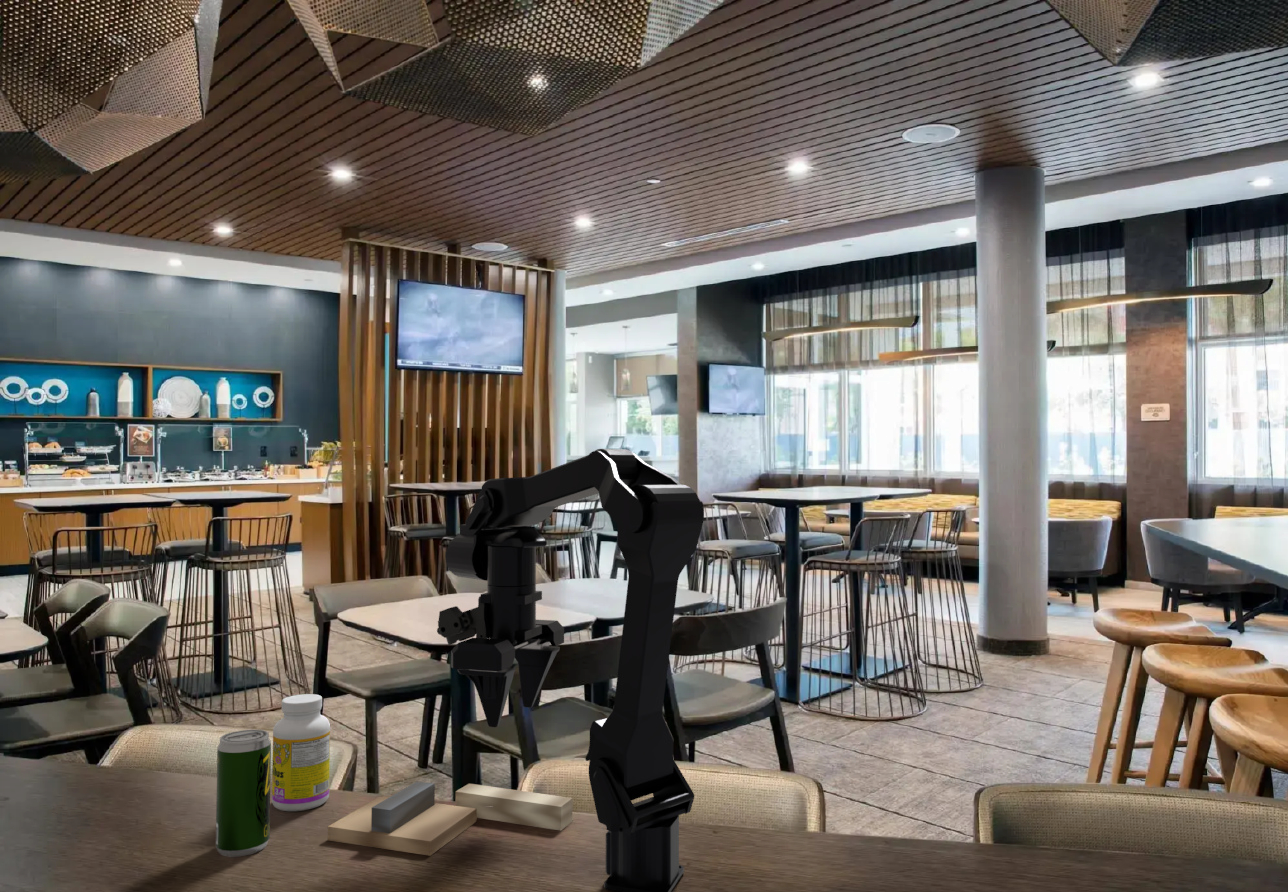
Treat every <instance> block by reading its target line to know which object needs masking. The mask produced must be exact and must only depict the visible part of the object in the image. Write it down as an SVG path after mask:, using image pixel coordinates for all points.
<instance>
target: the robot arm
mask: <svg viewBox="0 0 1288 892" xmlns="http://www.w3.org/2000/svg"><path fill="white" fill-rule="evenodd" d="M595 495H599V500H600V505H601V508H602V509H603V510H604V511H605V512H606V513H607V514H608V515H609V516H610V517H611V518H612V520H613V521H615V522H616V523H617V525H616V526H617V529H616V530H617V532H616V533H617V534H616V535H617V546H618V548H619V550H620V553H621V555H622V557H623V559H624V561H625V564H626V566H627V569H628V578H627V589H626V597H625V606H624V614H623V623H622V633H621V642H620V651H619V659H618V660H619V661H618V668H617V674H616V675H617V676H616V684H615V685H616V686H615V696H614V701H613V702H614V703H613V709H612V710H611V711H610V713H609V715H608V716H607V717H606V718H601V719H597V720H594V721H592V722H591V725H590V729H589V747H588V752H587V753H586V756H585V757H584V759H585V761H586V762H587V761H588V762H589V763H588V779H589V783H590V788H591V793H592V798H593V802H594V807H595V810H596V817H597V820H598V822H599V824H601V825H602V824H603V825H604V826H605V827H606V830H607V832H605V873H606V875H607V876H608V877H607V878H606V880H604V883H603V887H604V889H606V890H611V891H619V892H672V890H673V889H674V888H675V886H676V885H677V883H678V882H679V880H680V879H681V877H682V875H683V874H684V873H685V867H684V865H682V864H680V857H679V856H680V831H679V830H680V826H679V825H680V816H681V815H684V814H689V813H691V810H692V806H693V803H694V799H695V793H694V791H693V790H692V788H691V786H690V785H689V783H688V781H687V780H686V778H685V776H684V775H683V773H682V771H681V769H680V768H679V767H678V766H679V765H678V764H677V763H676V761H675V759H674V737H673V735H672V732H671V730H670V727H669V726H668V723H667V722H666V719H665V717H664V715H663V714H664V710H663V709H664V702H665V701H664V700H665V692H666V686H667V683H666V682H667V675H668V668H669V667H668V666H669V659H670V651H671V643H672V642H671V641H672V635H673V625H674V617H675V610H676V609H675V608H676V601H677V591H678V583H679V578H680V575H681V573H682V572H683V570H684V569H685V567H686V565H687V563H688V562H689V561H690V559H691V558H692V556H693V555H694V553H695V552H696V550H697V546H698V543H699V540H700V536H701V532H702V527H703V525H704V519H705V508H704V507H705V506H704V502H703V501H702V500H700V498H699V496H698V494H697V492H696V491H695V490H694V489H693V488H692V487H690V486H688V485H686V484H681V483H680V482H679V481H678V480H677V479H676V478H675V477H673V476H671V475H669V474H667V473H665V472H663V471H662V470H660V469H658V468H657V467H654V466H652V465H650V464H648V463H646V462H645V461H644V459H642V458H641V457H640V456H638V455H637V454H636V453H634V452H632V451H631V450H629V449H627V448H626V449H625V448H623V449H622V448H620V449H619V448H616V449H615V448H597V449H596V450H593V451H591V452H590V453H589V454H588V455H585V456H581V457H579V458H577V459H574V460H572V461H568V462H566V463H563V464H561V465H558V466H556V467H552V468H550V469H547V470H545V471H544V470H543V471H541V472H539V473H537V474H534V475H531V476H522V477H501V478H490V479H487V480H486V481H484V483H483V484H482V485H481V490H480V491H479V492H478V495H477V497H476V499H475V501H474V505H473V506H472V509H471V511H470V513H469V515H468V516H467V518H466V519H465V521H464V523H465V524H464V523H463V524H460V525H459V534H458V535H456V536H454V537H453V539H451V541H450V543H449V545H448V547H447V550H446V551H445V556H444V557H445V563H446V566H447V568H448V570H449V571H450V572H451V573H452V574H453V575H454V576H456V577H458V578H464V579H472V580H479V581H487V585H486V587H487V589H486V590H487V592H484V593H480V595H479V597H478V599H477V601H478V602H477V603H478V605H477V606H476V607H474V608H470V609H468V610H464V611H462V610H461V609H460V608H459V607H458V606H452V607H449V608H446V609H442V610H440V611H439V614H438V621H437V628H436V632H437V634H438V635H440V636H441V637H443V639H446V643H447V644H448V646H450V645H454V644H456V643H457V644H456V645H455V646H454V647H453V648H452V649H451V651H450V668H452V669H454V670H457V672H458V673H459V675H462V676H463V675H465V676H466V677H467V679H469V680H470V681H471V682H472V683H473V684H474V685H473V686H474V687H475V689H476V691H477V695H478V697H479V701H480V704H481V706H482V710H483V712H484V713H483V714H484V716H485V718H486V719H485V720H486V722H487V725H488V727H489V728H498V727H499V725H500V723H501V719H502V717H503V713H504V711H505V710H504V709H505V708H506V707H505V706H506V703H507V700H508V696H509V693H510V689H511V686H512V682H513V678H514V675H515V671H516V667H512V666H513V664H514V661H515V660H516V662H517V664H518V674H519V684H520V694H521V701H522V705H523V706H522V707H523V708H529V709H531V708H532V707H533V706H534V704H535V702H536V699H537V697H538V695H539V693H540V690H541V689H542V687H543V686H542V685H543V683H544V681H545V679H546V676H547V674H548V672H549V670H550V668H551V665H553V661H554V659H555V657H556V656H557V653H558V652H560V648H561V647H560V645H563V644H564V643H565V627H564V626H563V625H562V624H561V623H560V622H559V621H558V620H552V619H550V620H549V619H537V617H536V616H537V614H536V613H537V611H536V610H537V605H536V604H537V602H538V601H541V600H543V591H542V590H536V589H537V583H536V582H537V576H536V575H537V564H536V563H537V561H536V560H537V555H536V554H537V549H536V548H541V547H546V546H547V544H548V543H547V540H546V538H545V537H544V536H543V535H541V534H540V533H539V532H538V531H537V528H536V527H535V526H536V525H538V524H540V523H541V522H543V521H545V520H546V519H548V518H550V517H551V515H552V514H553V511H554V510H555V509H557V507H560V506H565V505H567V504H569V503H573V502H577V501H579V500H582V499H585V498H589V497H592V496H595ZM651 794H652V795H653V796H652V797H649V798H646V799H643V800H640V801H637V802H633V801H634V800H637V799H640V798H643V797H645V796H649V795H651Z"/></svg>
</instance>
